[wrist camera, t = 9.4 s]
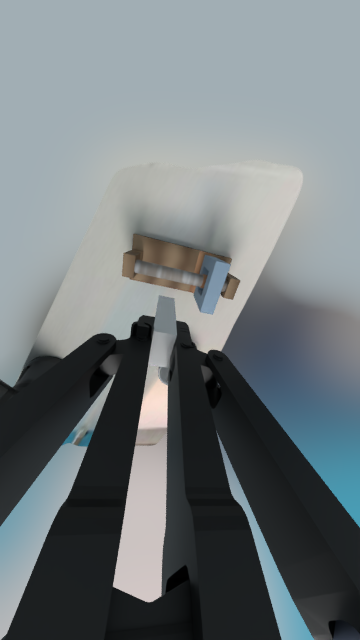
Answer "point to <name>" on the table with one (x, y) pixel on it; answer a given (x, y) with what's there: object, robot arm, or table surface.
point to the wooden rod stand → (171, 266)
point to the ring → (211, 283)
